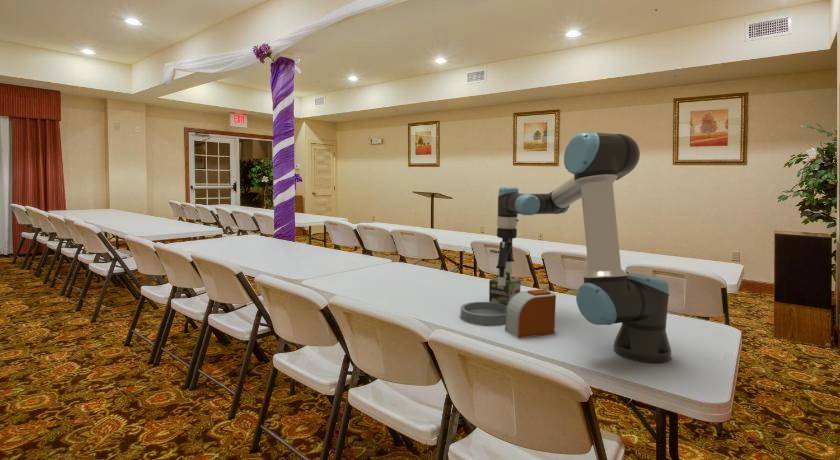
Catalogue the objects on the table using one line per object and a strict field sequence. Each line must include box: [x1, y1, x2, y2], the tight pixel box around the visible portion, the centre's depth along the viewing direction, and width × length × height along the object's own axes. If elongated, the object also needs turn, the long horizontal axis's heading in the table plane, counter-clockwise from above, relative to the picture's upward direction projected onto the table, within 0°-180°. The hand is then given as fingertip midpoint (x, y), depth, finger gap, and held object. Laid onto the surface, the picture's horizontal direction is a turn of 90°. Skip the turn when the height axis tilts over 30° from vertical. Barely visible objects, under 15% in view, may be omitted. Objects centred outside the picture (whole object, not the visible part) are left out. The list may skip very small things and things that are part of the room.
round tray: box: [459, 301, 507, 327], centre depth 169 cm, size 18×18×3 cm
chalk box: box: [488, 272, 521, 305], centre depth 181 cm, size 9×9×15 cm
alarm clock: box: [504, 288, 557, 339], centre depth 154 cm, size 15×8×14 cm, turn 111°
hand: (504, 281), depth 181 cm, fingers open, 13 cm apart
